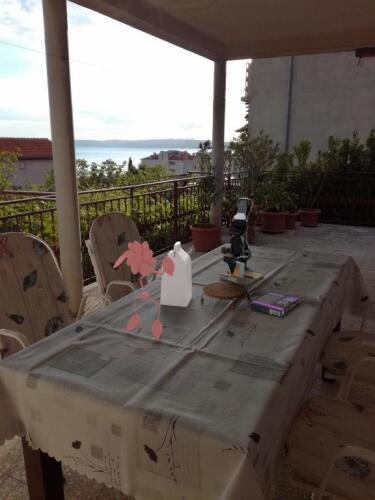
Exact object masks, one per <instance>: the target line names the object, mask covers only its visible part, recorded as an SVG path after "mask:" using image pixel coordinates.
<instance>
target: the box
mask: <svg viewBox="0 0 375 500" xmlns="http://www.w3.org/2000/svg"><path fill="white" fill-rule="evenodd" d="M297 302H299V303H300V298H299V297H296V296H291V295H287V294H282V293H279V292H275V291H271V290H270V291H268V292H267V293H264V294H262V295H261V296H259V297H257V298H256V299H254V300H253V301H251V302H250V309H251V310H254V311H257V312H262V313H265V314H268V313H270V314H269V315H272V314H275V315H279V316H281V315H283V314H284V313H285V312H286V311H288V310H289V309H290V308H291V307H293V306H294V305H295V304H296V303H297ZM293 308H294V307H293ZM289 311H290V310H289ZM289 311H288V312H289ZM285 314H286V313H285ZM285 314H284V315H285ZM275 315H274V316H275ZM284 315H283V316H284ZM279 316H278V317H279ZM281 317H282V316H281Z"/></svg>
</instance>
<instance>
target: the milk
mask: <svg viewBox="0 0 375 500" xmlns="http://www.w3.org/2000/svg"><path fill="white" fill-rule="evenodd" d="M181 244H182V243H181V241H177V242H175V244H174V245H173V250H172V249H171V250H170V251H169V252H168V253H166V254H167V255H166V256H167V257H169V258H171V260H172V261H173V263H174V266H175V270H174V273H173V275H172V277H171V276H170V275H168V274H167V273H166V272H164V275H162V274H161V279H160V280H161V281H160V283H161V285H160V286H161V287H160V301H159V302H160V303H159V304H160V305H161V306H174V307H183V308H184V307H185V308H186V307H188V305H189V304H190V302H191V300H192V299H193V285H192V283H193V282H192V280H193V279H192V258H191V256H190V254H188V253H187V251H185V250H184V249H183V248H182V246H181ZM162 264H163V262H162ZM162 264H161V273H163V265H162Z"/></svg>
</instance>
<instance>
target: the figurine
mask: <svg viewBox="0 0 375 500" xmlns="http://www.w3.org/2000/svg"><path fill="white" fill-rule="evenodd" d="M127 247H128V250H126V251H124V253H123V254H122V255H120V257H118V259H117V260H116V261H115V263H114V265H113V269H116V268H117V267H118V266H120V265H121V264H122V263H123V262H124V261H125V259H126V265H127V266H128V267H130V270H131V272H132V274H133V275H137V274H138V273H140V275H141V277H139V282H140V286H141V289H142V293H141V295H140V296H138V297H135V298H134V299H133V300H134V301H133V303H134V305H133V306H134V315H133V316H132V317H130V319H129V320H128V323H126V325H127V328H126V333H129V332H131V331H133V330H134V329H135V328H136V327H137V326H139V328H140V329H142V325H141V323H140V316H139V315H138V314H137V310H136V300H137V299H142V300H143V301H151V302H153V303H155V304H157V305H159V307H158V314H157V319H156V320H154V322H153V324H152V326H151V332H152V334H153V337H154V338H155V339H156V340H157V341H158V340H159V338H160V337H161V336H162V334H163V324H162V322H161V321H160V320H159V319H160V314H161V313H160V312H161V308H162V307H161V306H162V305H161V304H160V303H159V302H157V301H155V300H153V299H151V298H150V295H149V293H147V292H145V289H144V285H143V281H142V280H143V278H144V277H146V276H147V274H152V273H155V274H158V275H161V276H162V275H164V272H166V273H167V274H168V275H170V276H171V277H172V275H173V273H174V270H175V266H174V263H173V261H172V260H171V258H169V257H168V255H165V256H164V258H163V259H162V263H163V264H161V266H162V265H163V273H162V272H160V271H156V270H153V266H155V265H156V264H157V263H158V261H157V259H156V258H154V257H153V255H154V253H153V250H152V249H150V247H149V243H148V242H147V241H143V242H142V243H140V242H139V241H137V240H133V242H128V243H127ZM119 342H120V344H121V345H123V346H126V347H127V348H130V349H131V348H132V349H135V347H134V346H129V345H126V344H124V343H122V342H121V341H119ZM157 348H160V347H159V346H158V347H156V349H157ZM136 349H140V350H147V348H142V347H141V348H140V347H136ZM151 349H154V347H152V348H151V347H150V348H148V350H151Z"/></svg>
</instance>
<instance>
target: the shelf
mask: <svg viewBox="0 0 375 500" xmlns="http://www.w3.org/2000/svg"><path fill="white" fill-rule="evenodd" d="M263 276H265V275H264V274H262V273H257V272H254V271H249V270H246V269H245V270H244V278H240V277H236V276H232V275H230V269H229V270H228V269H227V270H226V273H222V272H220V273H219V279H220V280H223V281H226V282H227V281H228V282H230V283H231V282H232V283H235V284H239V285H242V286H248V285H250V284H252V282H253V283H254V281H255V282H256V280H257V281H259V280H261V279H263V278H264V277H263ZM262 277H263V278H262ZM260 278H261V279H260ZM258 279H259V280H258Z"/></svg>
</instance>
